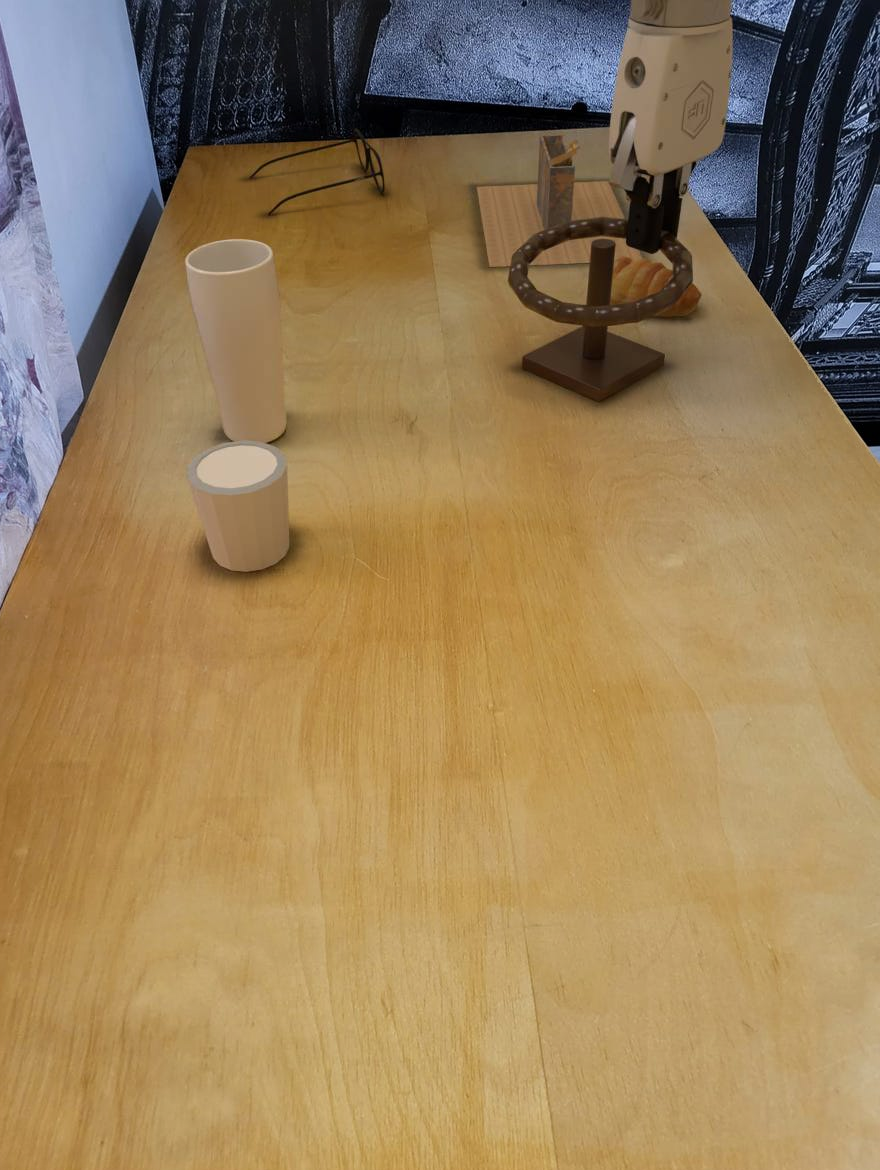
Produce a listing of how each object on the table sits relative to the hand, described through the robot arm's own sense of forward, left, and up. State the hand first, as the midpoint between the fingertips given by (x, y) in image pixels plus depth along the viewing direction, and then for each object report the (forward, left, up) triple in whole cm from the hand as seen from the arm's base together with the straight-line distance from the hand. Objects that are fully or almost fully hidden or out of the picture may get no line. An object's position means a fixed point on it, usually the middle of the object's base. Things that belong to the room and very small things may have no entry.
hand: (650, 243), depth 91 cm
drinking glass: (+35, -13, -9) cm, 38 cm away
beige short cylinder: (+45, 0, -9) cm, 46 cm away
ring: (+7, 0, 0) cm, 7 cm away
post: (+7, 0, -9) cm, 11 cm away
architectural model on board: (-18, -26, -9) cm, 33 cm away
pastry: (-7, -5, -9) cm, 13 cm away
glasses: (-6, -56, -9) cm, 57 cm away
